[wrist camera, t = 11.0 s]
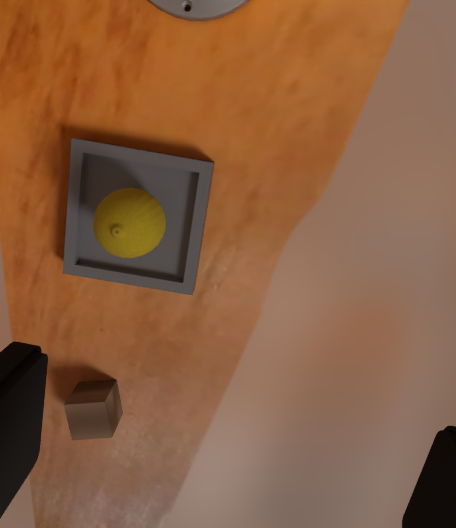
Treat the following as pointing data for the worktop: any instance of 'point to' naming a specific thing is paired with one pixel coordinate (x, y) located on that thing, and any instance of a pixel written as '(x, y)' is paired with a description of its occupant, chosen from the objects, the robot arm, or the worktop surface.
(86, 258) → the dish
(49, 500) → the worktop surface
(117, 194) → the lemon
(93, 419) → the metal cube
